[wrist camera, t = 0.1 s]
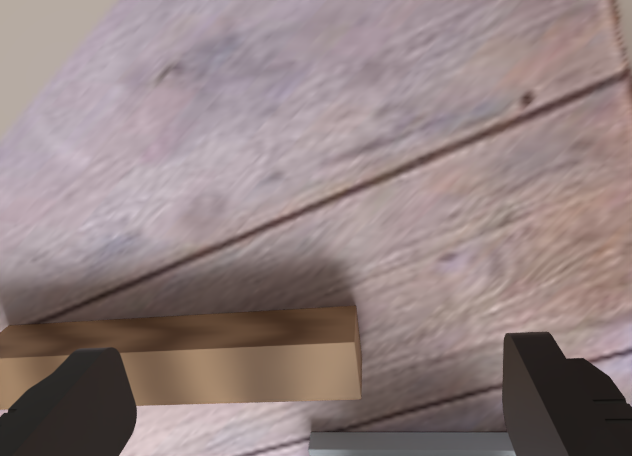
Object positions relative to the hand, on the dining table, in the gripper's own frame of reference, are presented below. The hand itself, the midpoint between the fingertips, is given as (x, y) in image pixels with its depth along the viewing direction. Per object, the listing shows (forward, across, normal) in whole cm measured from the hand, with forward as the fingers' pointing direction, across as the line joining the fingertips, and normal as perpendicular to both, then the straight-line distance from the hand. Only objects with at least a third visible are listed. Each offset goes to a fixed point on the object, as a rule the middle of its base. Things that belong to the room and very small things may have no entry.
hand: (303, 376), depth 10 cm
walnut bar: (+18, +12, +11) cm, 24 cm away
